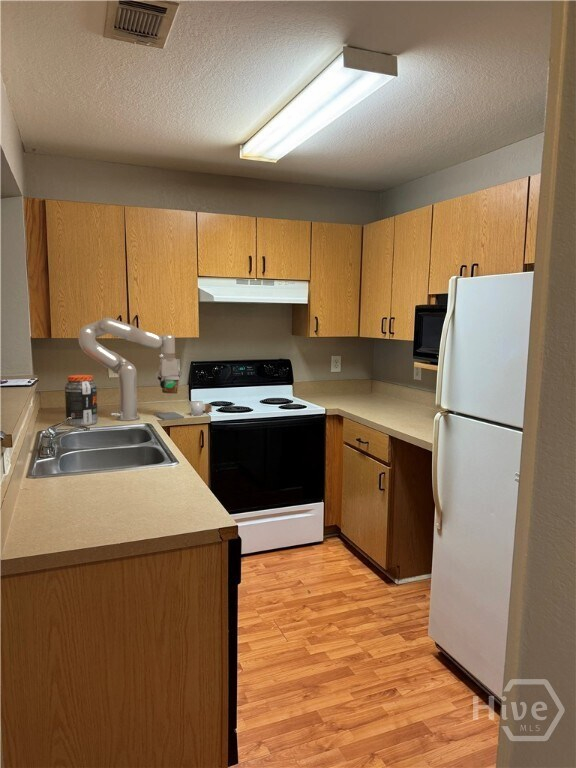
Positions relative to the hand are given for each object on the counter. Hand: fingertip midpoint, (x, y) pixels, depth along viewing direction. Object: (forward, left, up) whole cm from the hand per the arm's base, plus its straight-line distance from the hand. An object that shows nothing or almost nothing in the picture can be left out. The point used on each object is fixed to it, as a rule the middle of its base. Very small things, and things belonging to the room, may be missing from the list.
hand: (168, 387), depth 295 cm
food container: (-1, 0, -3) cm, 4 cm away
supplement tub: (-47, +4, -18) cm, 50 cm away
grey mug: (+16, -3, -17) cm, 24 cm away
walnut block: (+24, +2, -17) cm, 30 cm away
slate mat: (0, 0, -17) cm, 17 cm away
